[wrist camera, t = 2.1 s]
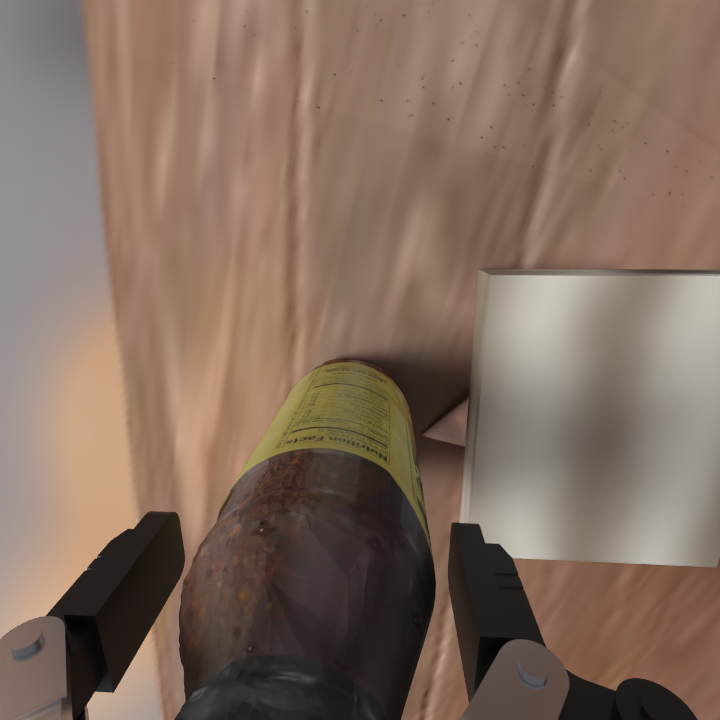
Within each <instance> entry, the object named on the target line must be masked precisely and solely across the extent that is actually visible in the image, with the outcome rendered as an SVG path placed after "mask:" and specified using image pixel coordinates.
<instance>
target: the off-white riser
mask: <svg viewBox="0 0 720 720" xmlns="http://www.w3.org/2000/svg"><path fill="white" fill-rule="evenodd" d="M459 523H475V524H479V525H480V528H481V531H482V534H483V537H484V541H485V543H494V544H500V545H501V546H502V547H503V548H504V550H505V551H506V552H507V553H508V554H509V555H510V556H511V557H512V558H526V559H548V560H569V561H591V562H613V563H634V564H656V565H678V566H699V567H717V565H718V561H719V558H720V270H668V269H479V273H478V286H477V299H476V312H475V325H474V338H473V351H472V364H471V377H470V390H469V403H468V417H467V430H466V443H465V456H464V469H463V482H462V495H461V508H460V521H459Z"/></svg>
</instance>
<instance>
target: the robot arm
mask: <svg viewBox="0 0 720 720" xmlns="http://www.w3.org/2000/svg"><path fill="white" fill-rule="evenodd" d="M184 562H185V553H184V546H183V540H182V533H181V527H180V520H179V516H178V514H177V513H176V512H155V511H150V512H148V513H147V514H146V515H145V516H144V517H143V518H142V520H141V521H140V522H139V523H138V524H137V526H136V527H135V528H134V529H127V530H126V531H124V532H123V533H121V534H120V535H119V536H117V537H116V538H114V539H113V540H111V541H110V542H109V543H108V544H107V546H106V547H105V548H104V549H103V550H102V552H100V554H99V555H98V557H97V559H94V561H93V562H92V563H91V564H90V565H89V567H88V568H87V571H84V572H83V573H82V575H81V576H80V577H79V578H78V579H77V580H76V582H75V583H74V584H73V585H72V586H71V587H70V588H69V590H68V591H67V592H66V593H65V594H64V595H63V597H62V598H61V599H60V600H59V601H58V602H57V603H56V605H55V606H54V607H53V608H52V609H51V611H50V612H49V613H48V614H47V615H46V616H45V617H39V618H35V619H32V620H29V621H27V622H25V623H23V624H21V625H19V626H17V627H15V628H14V629H12V630H11V631H9V632H8V633H7V634H6V635H4V636H3V637H2V638H1V639H0V720H89V716H88V709H87V703H88V702H89V700H90V698H91V697H92V695H93V694H94V692H96V691H97V692H112V693H113V692H114V691H115V689H116V688H117V686H118V684H119V682H120V681H121V679H122V677H123V675H124V674H125V672H126V670H127V668H128V667H129V665H130V663H131V661H132V660H133V658H134V656H135V655H136V653H137V651H138V649H139V648H140V646H141V644H142V643H143V641H144V639H145V637H146V636H147V634H148V632H149V631H150V629H151V627H152V625H153V624H154V622H155V620H156V618H157V617H158V615H159V613H160V612H161V610H162V608H163V606H164V605H165V603H166V601H167V599H168V598H169V596H170V594H171V592H172V591H173V589H174V587H175V586H176V584H177V582H178V580H179V579H180V577H181V574H182V571H183V568H184ZM448 582H449V591H450V597H451V602H452V608H453V614H454V619H455V625H456V631H457V637H458V642H459V648H460V654H461V659H462V665H463V671H464V677H465V682H466V688H467V694H468V699H469V705H468V707H467V708H466V710H465V712H464V714H463V715H462V717H461V719H460V720H697V718H696V717H695V715H694V714H693V712H692V711H691V710H690V709H689V707H688V706H687V705H686V704H685V703H684V702H683V701H682V700H681V699H680V698H678V697H677V696H676V695H675V694H674V693H672V692H671V691H669V690H668V689H666V688H664V687H663V686H661V685H659V684H657V683H654V682H652V681H649V680H645V679H640V678H632V679H627V680H625V681H623V682H622V683H620V684H619V686H618V687H617V690H616V691H614V690H611V689H609V688H606V687H603V686H600V685H597V684H595V683H592V682H589V681H586V680H584V679H581V678H579V677H577V676H575V675H574V674H572V673H571V672H569V671H568V670H566V669H565V667H564V665H563V664H562V662H561V661H560V660H559V658H558V657H557V656H556V655H555V654H554V653H553V652H551V651H550V650H549V649H547V648H546V645H545V643H544V641H543V638H542V636H541V633H540V630H539V628H538V625H537V622H536V620H535V617H534V614H533V612H532V609H531V607H530V604H529V601H528V599H527V596H526V593H525V591H524V590H523V585H522V583H521V580H520V578H519V577H518V572H517V570H516V567H515V564H514V562H513V559H512V557H511V556H510V555H509V554H508V553H507V552H506V551H505V550H504V548H503V547H502V546H501V545H500V544H494V543H485V541H484V537H483V534H482V531H481V528H480V525H479V524H475V523H452V525H451V535H450V548H449V562H448Z"/></svg>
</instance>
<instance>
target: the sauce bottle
mask: <svg viewBox="0 0 720 720" xmlns="http://www.w3.org/2000/svg"><path fill="white" fill-rule="evenodd" d="M435 590H436V580H435V571H434V563H433V556H432V549H431V543H430V536H429V530H428V525H427V518H426V509H425V502H424V495H423V488H422V483H421V475H420V471H419V466H418V459H417V453H416V445H415V439H414V432H413V426H412V421H411V415H410V410H409V407H408V404H407V401H406V399H405V397H404V395H403V393H402V392H401V390H400V389H399V388H398V386H397V385H396V384H395V383H394V381H393V380H392V379H391V378H390V377H389V375H388V374H387V373H386V372H385V371H384V370H382V369H381V368H380V367H378V366H376V365H373V364H370V363H366V362H364V361H358V360H350V359H349V360H347V359H346V360H339V359H334V360H330V361H326V362H324V363H323V364H322V365H320V366H318V367H316V368H315V369H314V370H312V371H311V372H310V373H308V374H307V375H306V376H305V377H303V378H302V379H301V380H300V381H299V382H298V383H297V384H296V385H295V386H294V388H293V389H292V390H291V392H290V394H289V396H288V397H287V399H286V400H285V402H284V404H283V405H282V407H281V408H280V410H279V412H278V413H277V415H276V416H275V418H274V420H273V421H272V423H271V424H270V426H269V428H268V429H267V431H266V432H265V434H264V436H263V437H262V439H261V441H260V442H259V444H258V445H257V447H256V449H255V450H254V452H253V454H252V455H251V457H250V458H249V460H248V462H247V463H246V465H245V466H244V468H243V470H242V471H241V473H240V475H239V476H238V478H237V480H236V481H235V483H234V485H233V486H232V488H231V490H230V493H229V494H228V496H227V498H226V499H225V501H224V503H223V505H222V506H221V509H220V512H219V515H218V519H217V522H216V524H215V525H214V527H213V528H212V529H211V531H210V532H209V533H208V535H207V536H206V538H205V539H204V541H203V542H202V543H201V544H200V546H199V548H198V552H197V554H196V556H195V557H194V559H193V562H192V566H191V568H190V571H189V573H188V574H187V576H186V578H185V579H184V582H183V591H182V594H181V606H180V611H179V628H180V634H179V643H180V647H179V652H180V658H181V663H182V665H183V667H184V687H185V690H184V691H185V695H186V702H185V704H184V705H183V706H182V708H181V710H180V712H179V713H178V715H177V716H176V718H175V719H174V720H401V717H402V713H403V710H404V707H405V703H406V700H407V696H408V693H409V690H410V686H411V683H412V680H413V677H414V673H415V670H416V667H417V664H418V660H419V657H420V654H421V651H422V647H423V644H424V641H425V637H426V634H427V630H428V627H429V623H430V620H431V616H432V612H433V608H434V602H435Z"/></svg>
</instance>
